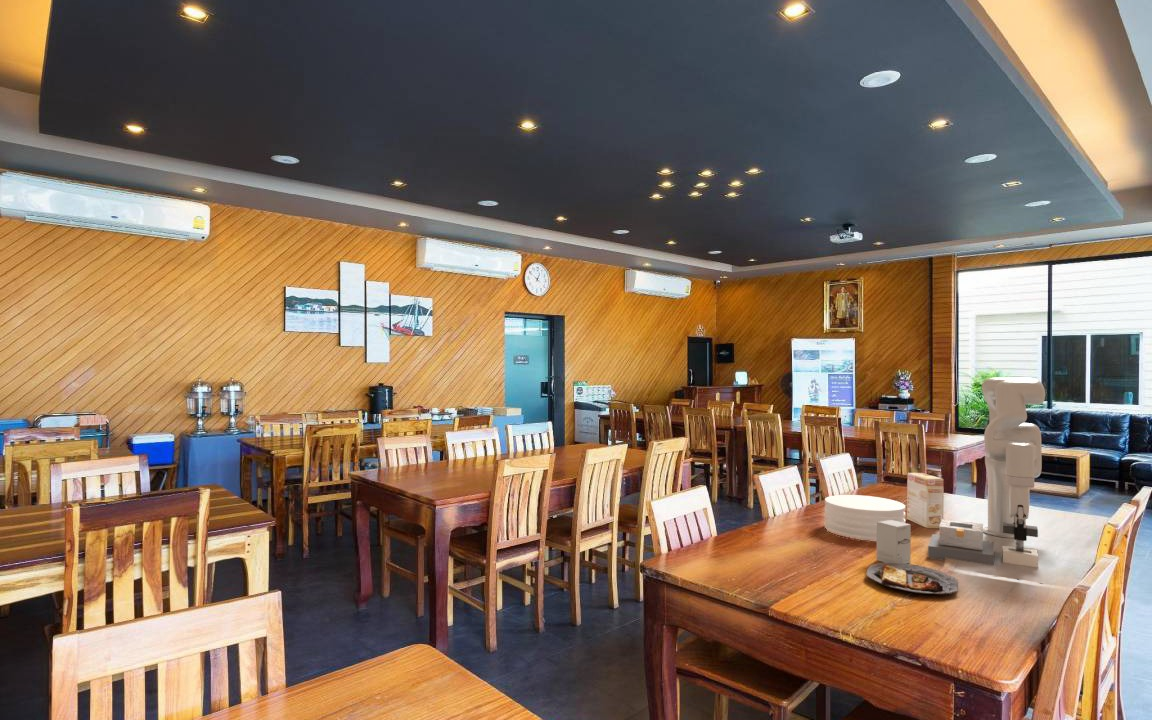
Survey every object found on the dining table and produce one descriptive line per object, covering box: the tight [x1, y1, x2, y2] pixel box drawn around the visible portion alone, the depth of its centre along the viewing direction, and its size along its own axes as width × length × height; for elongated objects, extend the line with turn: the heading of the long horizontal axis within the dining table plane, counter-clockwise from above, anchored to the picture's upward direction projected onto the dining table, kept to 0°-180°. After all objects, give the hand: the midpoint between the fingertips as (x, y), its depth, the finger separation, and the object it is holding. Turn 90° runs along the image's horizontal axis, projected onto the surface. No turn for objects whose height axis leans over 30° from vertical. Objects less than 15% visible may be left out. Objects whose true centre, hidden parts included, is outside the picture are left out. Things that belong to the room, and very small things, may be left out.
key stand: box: [1002, 545, 1039, 568], centre depth 200 cm, size 8×9×4 cm
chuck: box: [938, 518, 984, 550], centre depth 207 cm, size 15×12×6 cm
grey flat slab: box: [927, 533, 995, 566], centre depth 209 cm, size 18×18×4 cm
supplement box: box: [876, 520, 912, 564], centre depth 202 cm, size 7×7×13 cm
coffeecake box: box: [906, 472, 945, 529], centre depth 252 cm, size 15×7×20 cm, turn 179°
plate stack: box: [824, 494, 906, 542], centre depth 239 cm, size 28×28×12 cm
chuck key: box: [1003, 523, 1039, 552], centre depth 200 cm, size 5×9×11 cm, turn 56°
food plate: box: [865, 562, 959, 596], centre depth 181 cm, size 25×23×4 cm
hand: (1019, 537), depth 200 cm, fingers open, 6 cm apart
